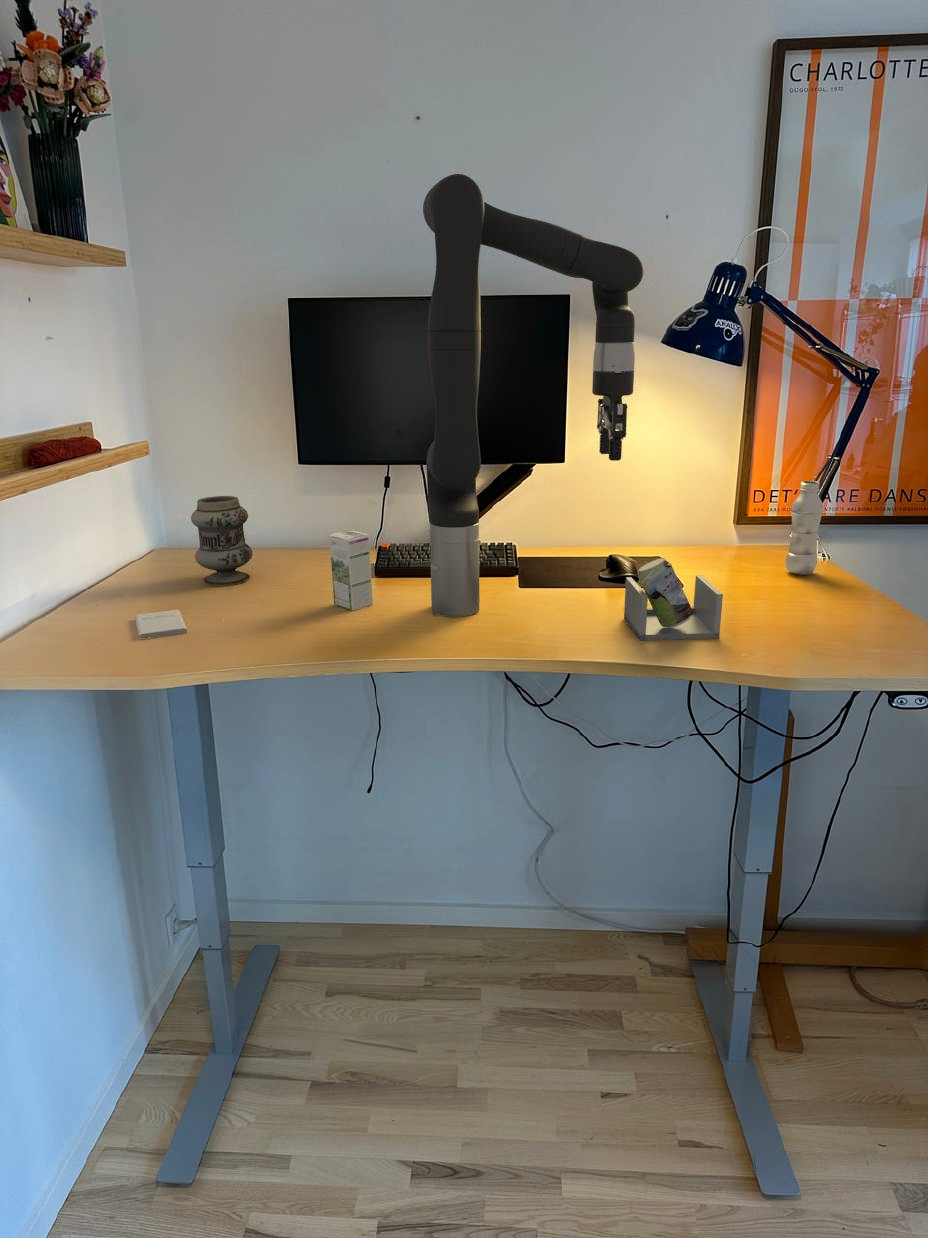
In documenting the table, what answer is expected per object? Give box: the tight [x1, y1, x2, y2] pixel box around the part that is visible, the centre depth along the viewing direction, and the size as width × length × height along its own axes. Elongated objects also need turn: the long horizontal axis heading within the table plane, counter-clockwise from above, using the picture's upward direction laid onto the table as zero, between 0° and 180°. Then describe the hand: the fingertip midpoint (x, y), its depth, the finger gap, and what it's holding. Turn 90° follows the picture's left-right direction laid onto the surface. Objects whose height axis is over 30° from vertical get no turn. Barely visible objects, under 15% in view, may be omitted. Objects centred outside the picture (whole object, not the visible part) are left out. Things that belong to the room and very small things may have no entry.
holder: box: [623, 574, 724, 641], centre depth 156 cm, size 14×12×8 cm
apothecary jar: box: [190, 495, 253, 587], centre depth 188 cm, size 12×12×18 cm
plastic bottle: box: [785, 480, 824, 576], centre depth 187 cm, size 6×7×20 cm
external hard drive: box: [134, 609, 188, 640], centre depth 162 cm, size 2×8×12 cm
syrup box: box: [328, 529, 374, 611], centre depth 170 cm, size 6×6×14 cm
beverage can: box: [638, 557, 693, 628], centre depth 152 cm, size 6×7×12 cm
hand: (609, 456), depth 166 cm, fingers open, 8 cm apart
